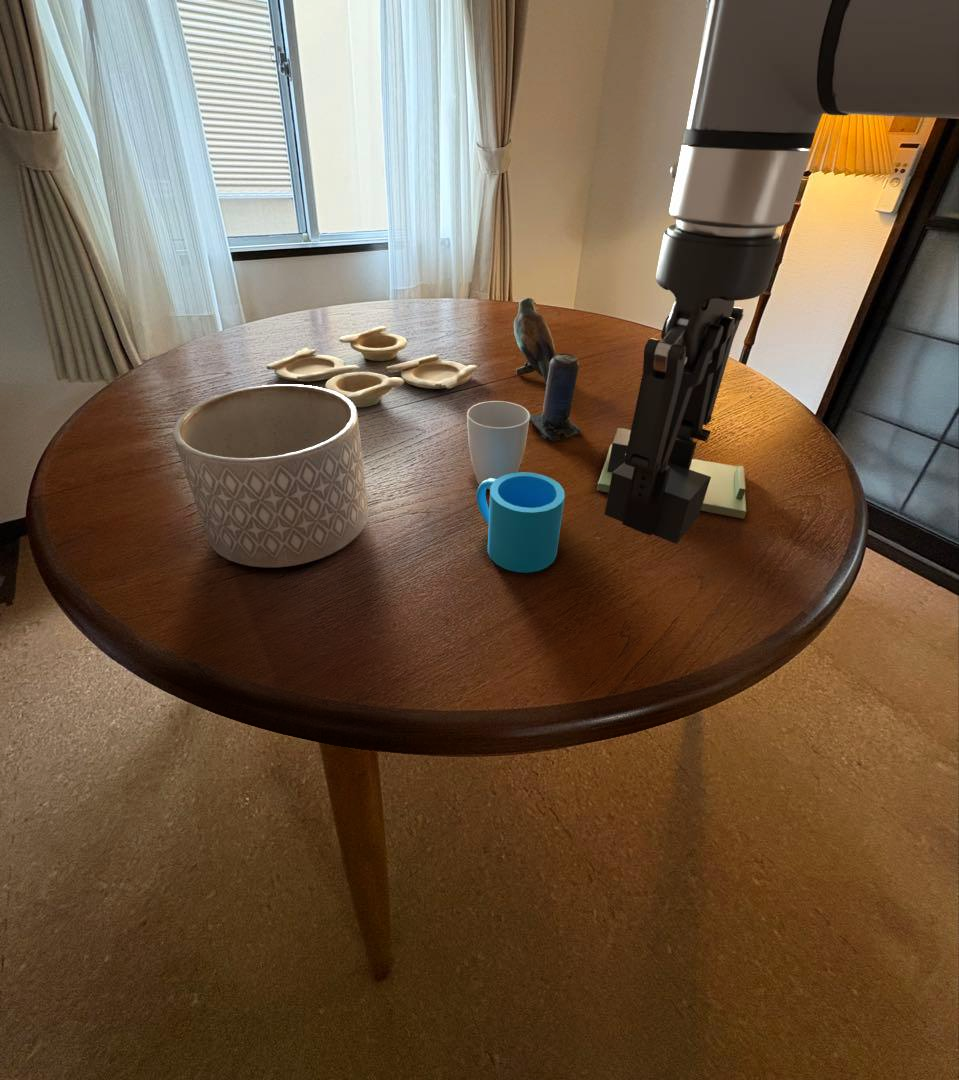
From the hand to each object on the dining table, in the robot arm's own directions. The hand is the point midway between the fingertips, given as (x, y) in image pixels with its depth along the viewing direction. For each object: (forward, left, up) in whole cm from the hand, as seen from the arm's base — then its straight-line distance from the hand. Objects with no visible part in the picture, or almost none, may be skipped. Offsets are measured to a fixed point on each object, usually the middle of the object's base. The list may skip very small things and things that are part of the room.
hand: (651, 513), depth 51 cm
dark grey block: (0, 0, 0) cm, 0 cm away
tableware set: (+67, -26, -12) cm, 73 cm away
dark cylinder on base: (+29, -30, -12) cm, 43 cm away
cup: (+26, -11, -12) cm, 31 cm away
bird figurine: (+43, -48, -12) cm, 66 cm away
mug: (+16, -1, -12) cm, 20 cm away
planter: (+38, +14, -12) cm, 42 cm away
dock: (+7, -27, -12) cm, 30 cm away
